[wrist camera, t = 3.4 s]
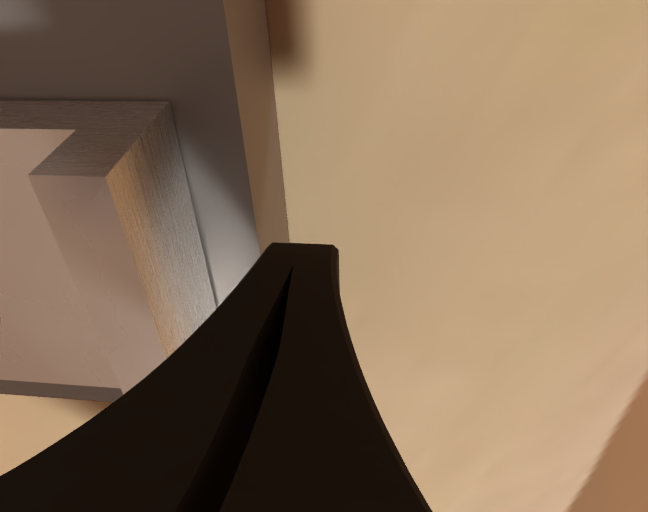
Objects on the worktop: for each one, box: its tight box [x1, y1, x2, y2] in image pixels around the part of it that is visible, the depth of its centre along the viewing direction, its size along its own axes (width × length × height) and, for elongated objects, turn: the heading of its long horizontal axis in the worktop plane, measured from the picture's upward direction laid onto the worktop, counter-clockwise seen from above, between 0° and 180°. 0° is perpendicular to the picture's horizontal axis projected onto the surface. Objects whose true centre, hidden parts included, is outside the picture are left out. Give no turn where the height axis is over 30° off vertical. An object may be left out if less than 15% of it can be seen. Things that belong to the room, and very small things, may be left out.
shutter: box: [0, 100, 216, 395], centre depth 11 cm, size 7×7×3 cm
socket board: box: [0, 0, 290, 402], centre depth 14 cm, size 12×14×3 cm
